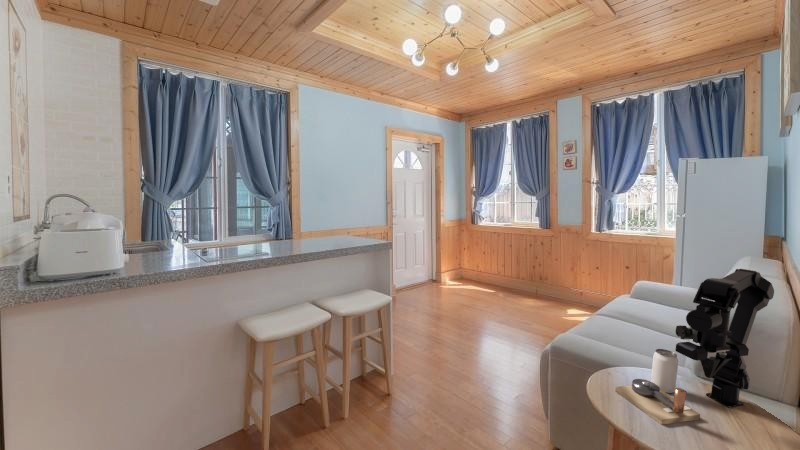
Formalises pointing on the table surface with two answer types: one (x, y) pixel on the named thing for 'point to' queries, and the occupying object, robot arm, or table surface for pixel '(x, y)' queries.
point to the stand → (657, 406)
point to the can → (664, 370)
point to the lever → (653, 391)
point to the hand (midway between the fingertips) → (708, 377)
